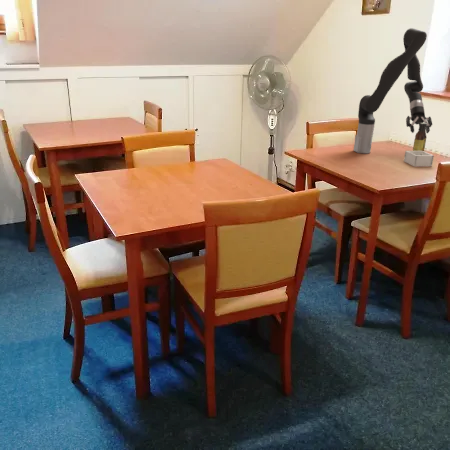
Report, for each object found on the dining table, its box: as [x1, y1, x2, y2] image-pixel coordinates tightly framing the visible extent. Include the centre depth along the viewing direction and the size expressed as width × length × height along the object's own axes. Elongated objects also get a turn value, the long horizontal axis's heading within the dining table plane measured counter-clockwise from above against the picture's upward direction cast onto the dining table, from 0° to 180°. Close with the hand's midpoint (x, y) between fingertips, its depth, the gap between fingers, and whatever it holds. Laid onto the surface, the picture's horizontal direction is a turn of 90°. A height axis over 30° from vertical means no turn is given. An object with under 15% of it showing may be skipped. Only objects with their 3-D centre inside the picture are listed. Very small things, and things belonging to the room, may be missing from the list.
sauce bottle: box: [412, 122, 428, 151], centre depth 267 cm, size 7×6×20 cm
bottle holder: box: [403, 150, 435, 167], centre depth 256 cm, size 10×11×6 cm
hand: (420, 132), depth 268 cm, fingers open, 8 cm apart
